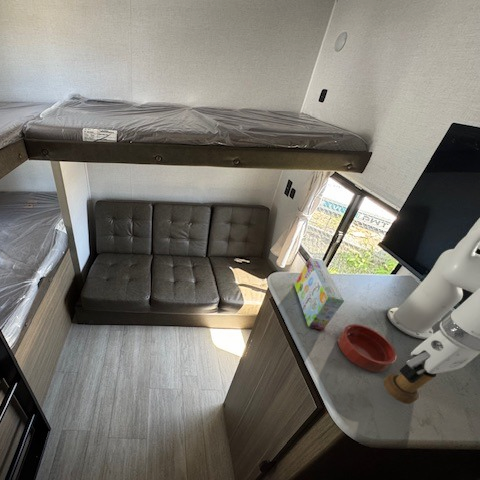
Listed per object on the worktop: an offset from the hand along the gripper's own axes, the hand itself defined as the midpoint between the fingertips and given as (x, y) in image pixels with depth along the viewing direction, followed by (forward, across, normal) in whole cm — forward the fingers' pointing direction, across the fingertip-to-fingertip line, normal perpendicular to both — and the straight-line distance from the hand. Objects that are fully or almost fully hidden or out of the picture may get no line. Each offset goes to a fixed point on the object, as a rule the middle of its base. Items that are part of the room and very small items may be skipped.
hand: (413, 375), depth 63 cm
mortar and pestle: (+7, 0, 0) cm, 7 cm away
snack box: (+12, -2, +32) cm, 34 cm away
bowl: (+12, +3, +12) cm, 17 cm away
